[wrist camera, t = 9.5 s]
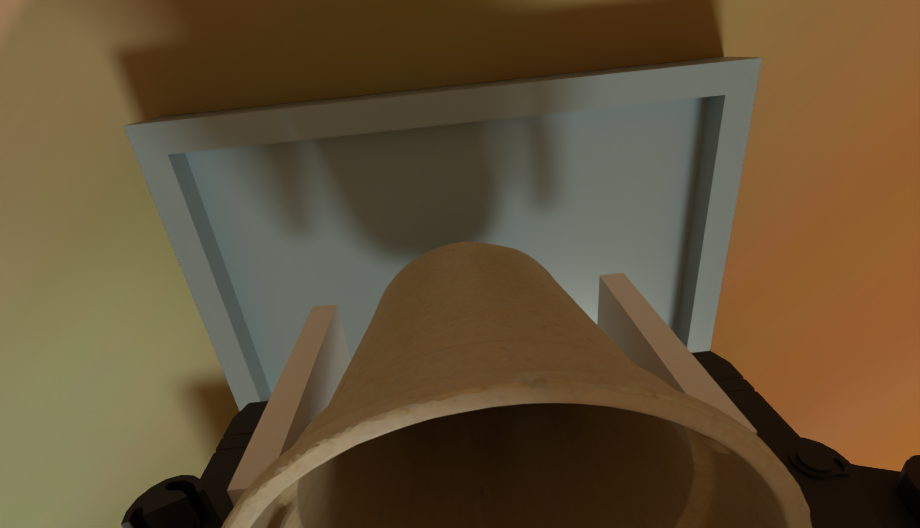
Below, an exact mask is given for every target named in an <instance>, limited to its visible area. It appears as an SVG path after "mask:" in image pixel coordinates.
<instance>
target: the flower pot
mask: <svg viewBox="0 0 920 528" xmlns="http://www.w3.org/2000/svg"><path fill="white" fill-rule="evenodd" d="M221 528H812V525H811V520H810V509H809V506H808V504H807V503H806V501H805V499H804V495H803V493H802V492H801V488H800V486H799V485H798V483H797V482H796V481H795V479H794V478H793V476H792V475H791V474H790V473H789V471H788V470H787V468H786V467H785V466H784V464H783V463H782V462H781V461H780V460H779V459H778V458H777V456H776V455H775V454H774V453H773V452H772V451H771V449H770V448H769V447H768V446H767V445H766V444H765V443H764V442H763V441H762V440H761V439H760V438H759V437H758V436H757V435H755V434H754V433H753V432H752V431H750V430H749V429H748V428H746V427H745V426H744V425H742V424H741V423H739V422H738V421H736V420H735V419H733V418H732V417H731V416H729V415H727V414H726V413H724V412H722V411H720V410H719V409H717V408H715V407H714V406H712V405H710V404H708V403H706V402H703V401H701V400H699V399H697V398H694V397H692V396H690V395H687V394H685V393H682V392H680V391H677V390H675V389H674V388H673V387H671V386H670V385H669V384H667V383H666V382H665V381H663V380H662V379H660V378H659V377H657V376H655V375H654V374H652V373H651V372H649V371H647V370H645V369H643V368H641V367H638V366H636V365H635V364H634V363H633V362H632V360H631V359H630V358H629V357H628V356H627V355H626V354H625V353H624V352H623V351H622V350H621V349H620V348H619V347H618V346H617V345H616V344H615V343H614V342H613V341H612V340H611V339H610V338H609V337H608V336H607V335H606V334H605V333H604V332H603V331H602V330H601V329H600V328H599V326H598V325H597V324H596V323H595V322H594V321H593V320H592V319H591V318H590V317H589V316H588V315H587V314H586V313H585V312H584V311H583V309H582V308H581V307H580V306H579V305H578V304H577V303H576V302H575V301H574V300H573V299H572V298H571V297H570V296H569V295H568V293H567V292H566V291H565V290H564V289H563V288H562V287H561V286H560V285H559V284H558V283H557V282H556V281H555V279H554V278H553V277H552V276H551V274H550V273H549V272H548V271H547V270H546V269H545V268H544V267H543V266H542V265H541V264H540V263H538V262H537V261H536V260H535V259H533V258H532V257H530V256H529V255H527V254H525V253H523V252H521V251H519V250H517V249H513V248H509V247H504V246H499V245H493V244H487V243H480V242H458V243H452V244H449V245H445V246H442V247H439V248H436V249H433V250H431V251H428V252H426V253H424V254H423V255H421V256H419V257H417V258H416V259H414V260H413V261H411V262H410V263H409V264H407V265H406V266H405V267H404V268H403V269H402V270H401V271H400V272H399V273H398V274H397V275H396V276H395V277H394V278H393V280H392V281H391V282H390V283H389V285H388V286H387V288H386V289H385V291H384V293H383V295H382V297H381V299H380V301H379V304H378V306H377V309H376V311H375V314H374V316H373V318H372V320H371V322H370V324H369V326H368V328H367V330H366V332H365V334H364V336H363V338H362V340H361V342H360V344H359V346H358V348H357V350H356V352H355V354H354V356H353V358H352V360H351V362H350V364H349V365H348V367H347V369H346V371H345V373H344V375H343V377H342V379H341V381H340V383H339V385H338V387H337V389H336V391H335V393H334V395H333V397H332V399H331V401H330V403H329V405H328V406H327V407H326V408H325V409H324V410H323V411H322V412H321V413H320V414H319V415H318V416H317V417H316V418H315V419H314V420H313V421H312V422H311V423H310V424H309V425H308V426H307V427H306V429H305V430H304V431H303V433H302V434H301V435H300V437H299V438H298V439H297V441H296V442H295V444H294V445H293V447H292V448H290V449H289V450H287V451H286V452H285V453H283V454H282V455H281V456H280V457H278V458H277V459H276V460H275V461H274V462H272V463H271V464H270V465H269V466H268V467H267V468H266V469H265V470H264V471H263V472H262V473H261V474H260V475H259V476H258V477H257V478H256V479H255V480H254V482H253V483H252V484H251V485H250V486H249V487H248V488H247V490H246V491H245V492H244V493H243V494H242V496H241V497H240V498H239V499H238V501H237V503H236V504H235V506H234V508H233V509H232V511H231V512H230V514H229V515H228V517H227V518H226V520H225V522H224V524H223V526H222V527H221Z"/></svg>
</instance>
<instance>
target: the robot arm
mask: <svg viewBox="0 0 920 528" xmlns="http://www.w3.org/2000/svg"><path fill="white" fill-rule="evenodd" d="M597 325H598V326H599V328H600V329H601V330H602V331H603V332H604V333H605V334H606V335H607V336H608V337H609V338H610V339H611V340H612V341H613V342H614V343H615V344H616V345H617V346H618V347H619V348H620V349H621V350H622V351H623V352H624V353H625V354H626V355H627V356H628V357H629V358H630V359H631V360H632V362H633V363H634V364H635V365H636V366H638V367H641V368H643V369H645V370H647V371H649V372H651V373H652V374H654V375H655V376H657V377H659V378H660V379H662V380H663V381H665V382H666V383H667V384H669V385H670V386H671V387H673V388H674V389H675V390H677V391H680V392H682V393H685V394H687V395H690V396H692V397H694V398H697V399H699V400H701V401H703V402H706V403H708V404H710V405H712V406H714V407H715V408H717V409H719V410H720V411H722V412H724V413H726V414H727V415H729V416H731V417H732V418H733V419H735V420H736V421H738V422H739V423H741V424H742V425H744V426H745V427H746V428H748V429H749V430H750V431H752V432H753V433H754V434H755V435H757V436H758V437H759V438H760V439H761V440H762V441H763V442H764V443H765V444H766V445H767V446H768V447H769V448H770V449H771V451H772V452H773V453H774V454H775V455H776V456H777V458H778V459H779V460H780V461H781V462H782V463H783V464H784V466H785V467H786V468H787V470H788V471H789V473H790V474H791V475H792V476H793V478H794V479H795V481H796V482H797V483H798V485H799V486H800V488H801V492H802V493H803V495H804V499H805V501H806V503H807V504H808V506H809V509H810V520H811V525H812V528H920V455H916V456H912V457H911V458H910V459H908V460H907V461H906V462H905V464H904V466H903V468H902V471H901V472H898V471H892V470H885V469H878V468H872V467H865V466H858V465H854V464H850V463H849V461H848V460H846V459H845V458H844V457H843V456H841V455H840V454H839V453H838V452H837V451H835V450H833V449H831V448H829V447H828V446H826V445H824V444H822V443H820V442H816V441H813V440H810V439H806V438H801V437H799V436H798V434H797V433H796V432H795V431H794V430H793V429H792V428H791V427H790V426H789V425H788V424H787V423H786V422H785V421H784V420H783V419H782V417H781V416H780V415H779V414H778V413H777V412H776V411H775V410H774V409H773V408H772V407H771V406H770V405H769V404H768V403H767V402H766V400H765V399H764V398H763V397H762V396H761V395H760V394H759V393H758V392H755V390H754V388H753V387H752V386H751V385H750V384H749V382H748V381H747V380H744V379H743V376H742V375H741V374H740V373H739V372H738V371H737V370H736V369H735V368H734V367H733V365H732V364H731V363H730V362H728V361H726V360H725V359H723V358H721V357H720V356H718V355H716V354H715V353H713V352H711V351H703V352H694V353H691V352H690V351H689V350H688V349H687V348H686V346H685V345H684V344H683V343H682V342H681V340H680V339H679V338H678V337H677V336H676V335H675V333H674V332H673V331H672V330H671V329H670V327H669V326H668V325H667V324H666V323H665V322H664V320H663V319H662V318H661V317H660V316H659V314H658V313H657V312H656V311H655V310H654V309H653V307H652V306H651V305H650V304H649V303H648V301H647V300H646V299H645V298H644V297H643V296H642V294H641V293H640V292H639V291H638V290H637V288H636V287H635V286H634V285H633V284H632V282H631V281H630V280H629V279H628V278H627V277H626V275H625V274H624V273H616V274H607V275H600V276H599V298H598V320H597ZM350 362H351V359H350V355H349V351H348V347H347V343H346V339H345V335H344V331H343V327H342V323H341V319H340V315H339V311H338V307H337V304H332V305H323V306H314V307H312V310H311V312H310V314H309V316H308V318H307V320H306V322H305V325H304V327H303V329H302V331H301V333H300V335H299V337H298V339H297V342H296V344H295V346H294V348H293V350H292V352H291V354H290V357H289V359H288V361H287V363H286V365H285V367H284V369H283V372H282V374H281V376H280V378H279V380H278V382H277V384H276V386H275V389H274V391H273V393H272V395H271V397H270V399H269V401H261V402H252V403H248V404H247V405H246V406H245V407H244V408H243V409H242V410H241V411H240V412H239V413H238V414H237V415H236V416H235V417H234V418H233V419H232V421H231V423H230V425H229V427H228V428H227V430H226V432H225V434H224V438H223V439H221V441H220V443H219V445H218V447H217V449H216V453H214V454H213V456H212V458H211V460H210V462H209V463H208V465H207V467H206V469H205V471H204V473H203V474H202V476H201V478H200V479H198V478H197V477H195V476H193V475H180V476H176V477H173V478H169V479H166V480H164V481H162V482H160V483H158V484H156V485H155V486H153V487H151V488H150V489H148V490H147V491H146V492H145V493H143V494H142V495H141V496H140V497H138V498H137V499H136V500H135V502H134V503H133V504H132V505H131V507H130V508H129V509H128V510H127V511H126V514H125V516H124V518H123V521H122V523H121V526H122V527H123V528H221V527H222V526H223V524H224V522H225V520H226V518H227V517H228V515H229V514H230V512H231V511H232V509H233V508H234V506H235V504H236V503H237V501H238V499H239V498H240V497H241V496H242V494H243V493H244V492H245V491H246V490H247V488H248V487H249V486H250V485H251V484H252V483H253V482H254V480H255V479H256V478H257V477H258V476H259V475H260V474H261V473H262V472H263V471H264V470H265V469H266V468H267V467H268V466H269V465H270V464H271V463H272V462H274V461H275V460H276V459H277V458H278V457H280V456H281V455H282V454H283V453H285V452H286V451H287V450H289V449H290V448H292V447H293V445H294V444H295V442H296V441H297V439H298V438H299V437H300V435H301V434H302V433H303V431H304V430H305V429H306V427H307V426H308V425H309V424H310V423H311V422H312V421H313V420H314V419H315V418H316V417H317V416H318V415H319V414H320V413H321V412H322V411H323V410H324V409H325V408H326V407H327V406H328V405H329V403H330V401H331V399H332V397H333V395H334V393H335V391H336V389H337V387H338V385H339V383H340V381H341V379H342V377H343V375H344V373H345V371H346V369H347V367H348V365H349V364H350Z"/></svg>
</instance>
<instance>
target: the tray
mask: <svg viewBox="0 0 920 528" xmlns="http://www.w3.org/2000/svg"><path fill="white" fill-rule="evenodd" d="M761 61H762V58H756V57H717V58H708V59H699V60H689V61H680V62H670V63H661V64H652V65H642V66H633V67H624V68H614V69H605V70H595V71H586V72H577V73H567V74H558V75H549V76H539V77H530V78H520V79H511V80H502V81H492V82H483V83H473V84H464V85H455V86H445V87H436V88H427V89H417V90H408V91H398V92H389V93H380V94H370V95H361V96H352V97H342V98H333V99H323V100H314V101H305V102H295V103H286V104H276V105H267V106H258V107H248V108H239V109H230V110H220V111H211V112H201V113H192V114H183V115H173V116H164V117H157V118H153V119H149V120H145V121H141V122H137V123H133V124H129V125H125V126H124V129H125V131H126V134H127V136H128V138H129V141H130V143H131V146H132V148H133V151H134V153H135V156H136V158H137V161H138V163H139V165H140V168H141V170H142V173H143V175H144V178H145V180H146V183H147V185H148V188H149V190H150V193H151V195H152V197H153V200H154V202H155V205H156V207H157V210H158V212H159V215H160V217H161V220H162V222H163V224H164V227H165V229H166V232H167V234H168V237H169V239H170V242H171V244H172V247H173V249H174V251H175V254H176V256H177V259H178V261H179V264H180V266H181V269H182V271H183V274H184V276H185V279H186V281H187V283H188V286H189V288H190V291H191V293H192V296H193V298H194V301H195V303H196V306H197V308H198V310H199V313H200V315H201V318H202V320H203V323H204V325H205V328H206V330H207V333H208V335H209V337H210V340H211V342H212V345H213V347H214V350H215V352H216V355H217V357H218V360H219V362H220V365H221V367H222V369H223V372H224V374H225V377H226V379H227V382H228V384H229V387H230V389H231V392H232V394H233V396H234V399H235V401H236V404H237V406H238V409H239V411H241V410H242V409H243V408H244V407H245V406H246V405H247V404H248V403H252V402H261V401H269V399H270V397H271V395H272V393H273V391H274V389H275V386H276V384H277V382H278V380H279V378H280V376H281V374H282V372H283V369H284V367H285V365H286V363H287V361H288V359H289V357H290V354H291V352H292V350H293V348H294V346H295V344H296V342H297V339H298V337H299V335H300V333H301V331H302V329H303V327H304V325H305V322H306V320H307V318H308V316H309V314H310V312H311V310H312V307H314V306H323V305H332V304H337V307H338V311H339V315H340V319H341V323H342V327H343V331H344V335H345V339H346V343H347V347H348V351H349V355H350V359H351V360H352V358H353V356H354V354H355V352H356V350H357V348H358V346H359V344H360V342H361V340H362V338H363V336H364V334H365V332H366V330H367V328H368V326H369V324H370V322H371V320H372V318H373V316H374V314H375V311H376V309H377V306H378V304H379V301H380V299H381V297H382V295H383V293H384V291H385V289H386V288H387V286H388V285H389V283H390V282H391V281H392V280H393V278H394V277H395V276H396V275H397V274H398V273H399V272H400V271H401V270H402V269H403V268H404V267H405V266H406V265H407V264H409V263H410V262H411V261H413V260H414V259H416V258H417V257H419V256H421V255H423V254H424V253H426V252H428V251H431V250H433V249H436V248H439V247H442V246H445V245H449V244H452V243H458V242H480V243H487V244H493V245H499V246H504V247H509V248H513V249H517V250H519V251H521V252H523V253H525V254H527V255H529V256H530V257H532V258H533V259H535V260H536V261H537V262H538V263H540V264H541V265H542V266H543V267H544V268H545V269H546V270H547V271H548V272H549V273H550V274H551V276H552V277H553V278H554V279H555V281H556V282H557V283H558V284H559V285H560V286H561V287H562V288H563V289H564V290H565V291H566V292H567V293H568V295H569V296H570V297H571V298H572V299H573V300H574V301H575V302H576V303H577V304H578V305H579V306H580V307H581V308H582V309H583V311H584V312H585V313H586V314H587V315H588V316H589V317H590V318H591V319H592V320H593V321H594V322H595V323H596V324H597V320H598V298H599V276H600V275H607V274H616V273H624V274H625V275H626V277H627V278H628V279H629V280H630V281H631V282H632V284H633V285H634V286H635V287H636V288H637V290H638V291H639V292H640V293H641V294H642V296H643V297H644V298H645V299H646V300H647V301H648V303H649V304H650V305H651V306H652V307H653V309H654V310H655V311H656V312H657V313H658V314H659V316H660V317H661V318H662V319H663V320H664V322H665V323H666V324H667V325H668V326H669V327H670V329H671V330H672V331H673V332H674V333H675V335H676V336H677V337H678V338H679V339H680V340H681V342H682V343H683V344H684V345H685V346H686V348H687V349H688V350H689V351H690V352H691V353H694V352H703V351H710V346H711V341H712V335H713V329H714V324H715V318H716V313H717V307H718V301H719V296H720V290H721V285H722V279H723V274H724V268H725V262H726V257H727V251H728V246H729V240H730V234H731V229H732V223H733V218H734V212H735V206H736V201H737V195H738V190H739V184H740V179H741V173H742V167H743V162H744V156H745V151H746V145H747V139H748V134H749V128H750V123H751V117H752V112H753V106H754V100H755V95H756V89H757V84H758V78H759V72H760V67H761Z"/></svg>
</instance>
